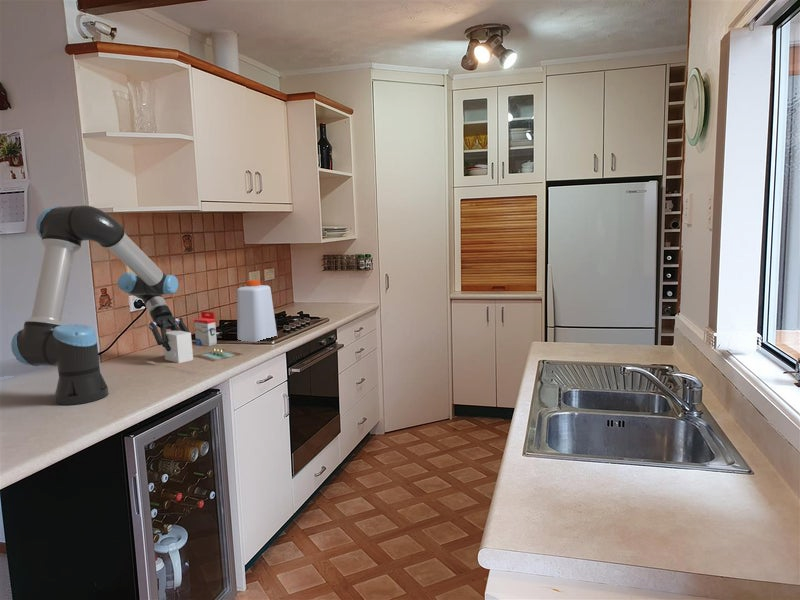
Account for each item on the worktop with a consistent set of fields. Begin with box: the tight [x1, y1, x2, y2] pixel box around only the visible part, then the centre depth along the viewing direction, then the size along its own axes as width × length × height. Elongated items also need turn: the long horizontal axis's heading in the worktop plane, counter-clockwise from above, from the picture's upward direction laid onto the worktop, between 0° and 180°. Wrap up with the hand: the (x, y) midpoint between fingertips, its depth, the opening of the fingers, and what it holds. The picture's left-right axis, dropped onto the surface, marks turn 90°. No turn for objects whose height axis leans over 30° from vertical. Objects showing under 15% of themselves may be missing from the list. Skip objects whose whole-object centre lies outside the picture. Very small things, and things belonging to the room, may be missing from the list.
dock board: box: [193, 348, 244, 362], centre depth 239 cm, size 14×16×1 cm
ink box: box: [193, 311, 218, 347], centre depth 266 cm, size 8×5×15 cm, turn 62°
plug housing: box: [163, 330, 194, 364], centre depth 233 cm, size 6×11×12 cm, turn 49°
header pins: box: [212, 347, 223, 356], centre depth 238 cm, size 1×6×2 cm, turn 49°
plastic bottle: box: [236, 279, 278, 342], centre depth 267 cm, size 15×15×28 cm
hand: (183, 354), depth 231 cm, fingers closed on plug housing, 6 cm apart
